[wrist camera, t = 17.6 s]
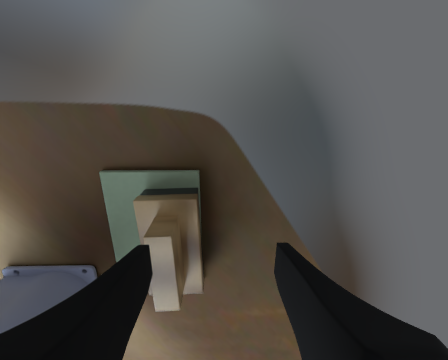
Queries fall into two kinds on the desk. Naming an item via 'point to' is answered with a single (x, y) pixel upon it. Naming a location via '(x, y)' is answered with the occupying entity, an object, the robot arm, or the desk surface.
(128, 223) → the pad
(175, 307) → the brush
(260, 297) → the desk surface
